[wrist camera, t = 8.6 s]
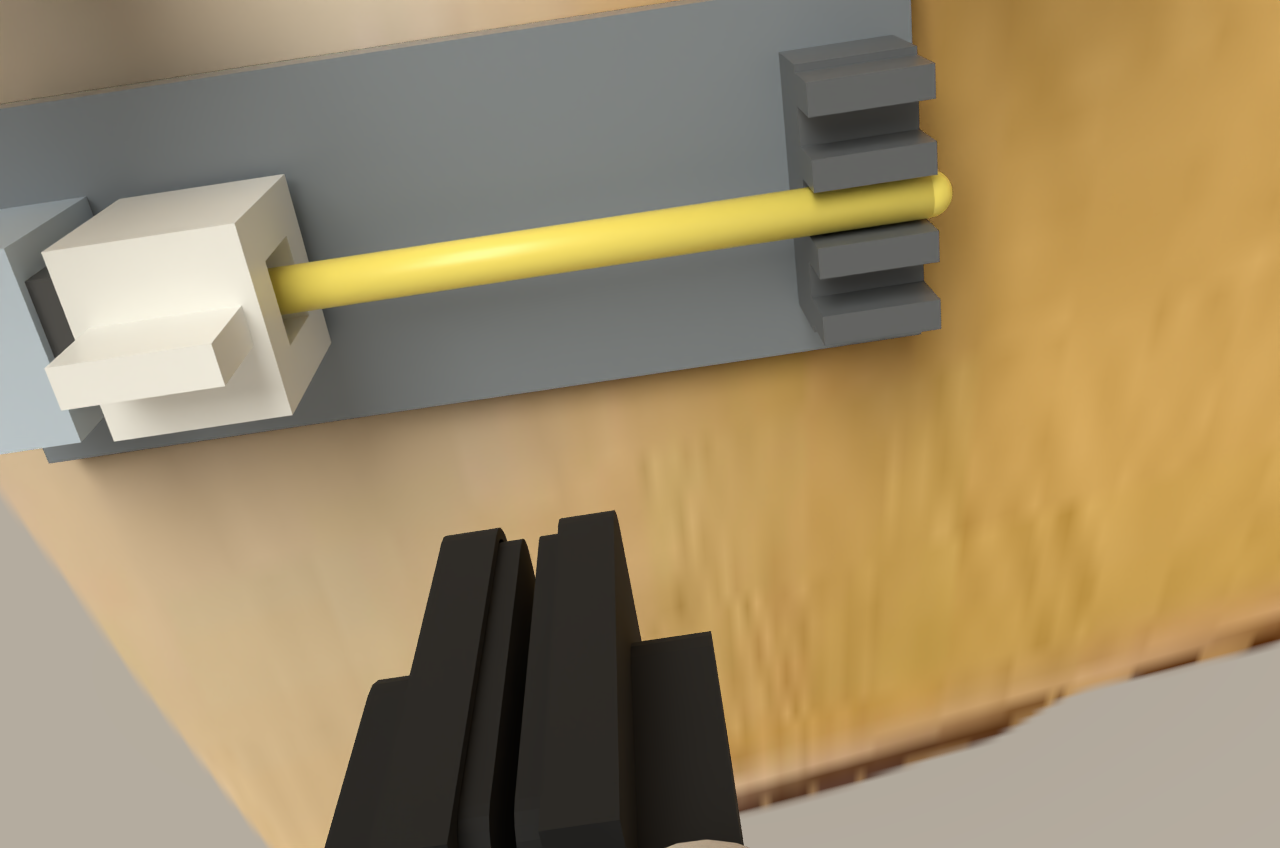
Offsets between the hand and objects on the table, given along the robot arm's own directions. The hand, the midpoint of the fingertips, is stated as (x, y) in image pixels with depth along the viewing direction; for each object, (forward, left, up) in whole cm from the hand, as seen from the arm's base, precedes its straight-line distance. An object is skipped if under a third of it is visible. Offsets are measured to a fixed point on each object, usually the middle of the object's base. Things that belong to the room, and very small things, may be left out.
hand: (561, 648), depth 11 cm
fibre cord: (0, +2, -19) cm, 19 cm away
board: (+2, +4, -23) cm, 23 cm away
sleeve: (+6, +8, -21) cm, 23 cm away
